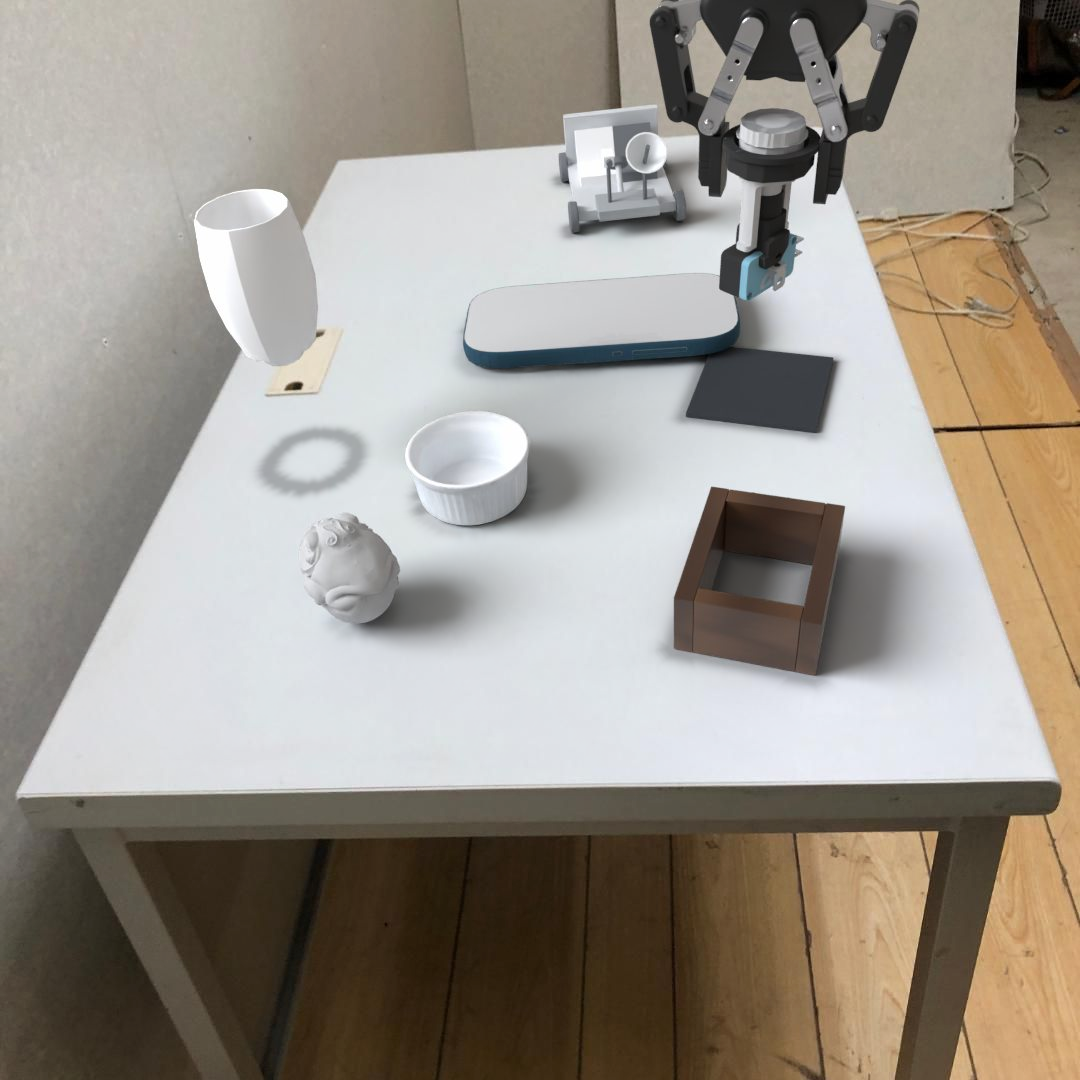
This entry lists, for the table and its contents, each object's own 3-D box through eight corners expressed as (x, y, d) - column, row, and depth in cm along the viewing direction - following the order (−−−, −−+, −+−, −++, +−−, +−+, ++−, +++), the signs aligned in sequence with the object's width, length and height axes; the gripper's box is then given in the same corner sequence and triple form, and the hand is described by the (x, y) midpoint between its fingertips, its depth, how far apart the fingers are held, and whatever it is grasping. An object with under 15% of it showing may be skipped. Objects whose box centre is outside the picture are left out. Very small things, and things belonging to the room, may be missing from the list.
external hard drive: (730, 289, 96) (730, 269, 95) (743, 358, 88) (744, 337, 86) (473, 307, 99) (470, 288, 97) (461, 376, 90) (458, 356, 89)
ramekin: (546, 461, 81) (542, 414, 78) (516, 539, 74) (510, 491, 71) (436, 451, 83) (428, 405, 80) (398, 526, 76) (387, 479, 73)
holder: (838, 556, 70) (845, 505, 67) (815, 676, 63) (822, 624, 60) (709, 536, 73) (711, 486, 70) (673, 649, 66) (673, 597, 63)
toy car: (691, 139, 98) (567, 152, 99) (690, 237, 105) (574, 250, 105) (662, 72, 112) (552, 85, 112) (662, 163, 118) (559, 175, 119)
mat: (833, 361, 87) (833, 357, 87) (815, 433, 80) (816, 428, 80) (712, 348, 90) (712, 344, 90) (685, 416, 83) (685, 412, 83)
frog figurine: (367, 561, 74) (346, 484, 69) (430, 610, 70) (412, 531, 65) (294, 608, 71) (268, 530, 66) (355, 662, 67) (331, 583, 62)
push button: (764, 245, 68) (778, 87, 62) (833, 272, 66) (857, 109, 59) (696, 285, 65) (704, 124, 59) (766, 316, 62) (782, 149, 56)
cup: (367, 430, 86) (307, 182, 72) (349, 487, 80) (281, 232, 66) (280, 432, 86) (204, 188, 72) (257, 490, 81) (170, 237, 67)
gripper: (627, -124, 50) (633, 215, 61) (950, -130, 46) (892, 234, 57) (662, -158, 55) (662, 161, 66) (956, -166, 51) (901, 174, 62)
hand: (769, 193), depth 62 cm, fingers closed on push button, 5 cm apart
